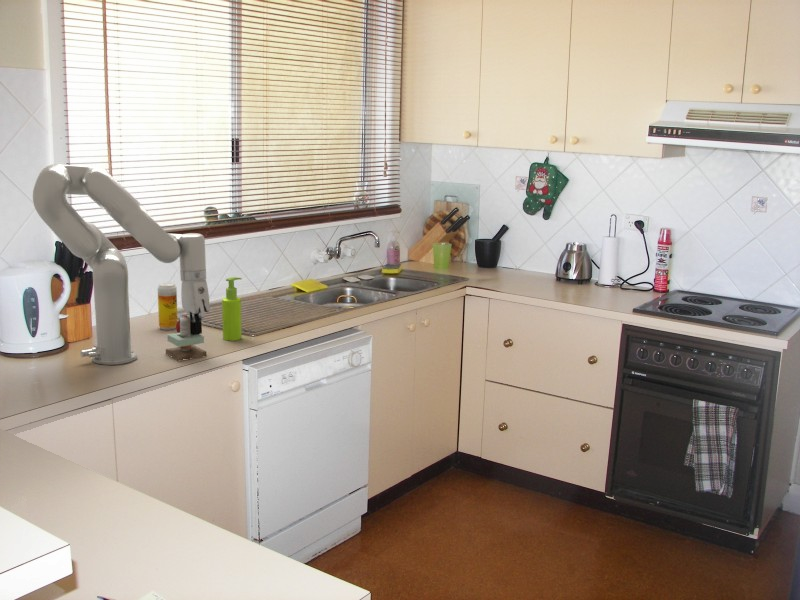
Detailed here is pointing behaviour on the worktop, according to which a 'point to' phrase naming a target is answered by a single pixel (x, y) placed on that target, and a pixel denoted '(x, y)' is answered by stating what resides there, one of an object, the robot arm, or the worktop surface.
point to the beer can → (167, 306)
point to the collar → (185, 339)
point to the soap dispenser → (231, 312)
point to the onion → (179, 325)
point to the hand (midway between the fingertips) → (196, 333)
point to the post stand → (185, 351)
